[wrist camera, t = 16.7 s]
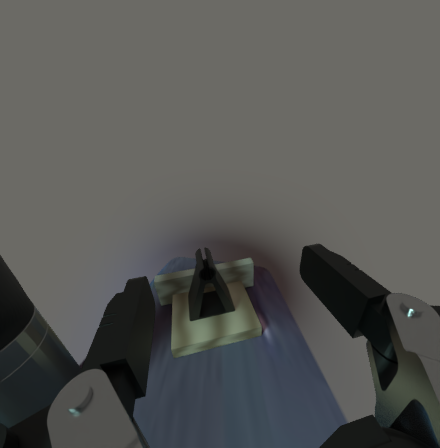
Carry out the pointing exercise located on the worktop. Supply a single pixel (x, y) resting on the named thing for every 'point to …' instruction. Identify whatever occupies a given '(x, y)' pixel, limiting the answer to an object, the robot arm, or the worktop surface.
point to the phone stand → (210, 301)
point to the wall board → (216, 325)
